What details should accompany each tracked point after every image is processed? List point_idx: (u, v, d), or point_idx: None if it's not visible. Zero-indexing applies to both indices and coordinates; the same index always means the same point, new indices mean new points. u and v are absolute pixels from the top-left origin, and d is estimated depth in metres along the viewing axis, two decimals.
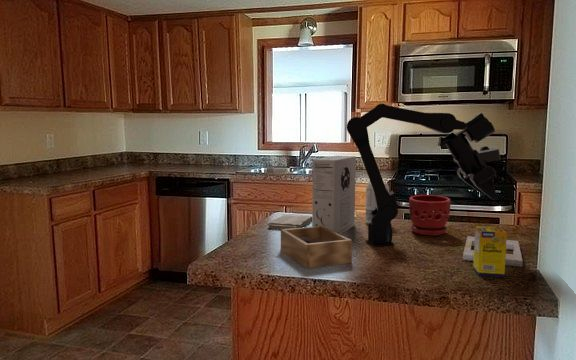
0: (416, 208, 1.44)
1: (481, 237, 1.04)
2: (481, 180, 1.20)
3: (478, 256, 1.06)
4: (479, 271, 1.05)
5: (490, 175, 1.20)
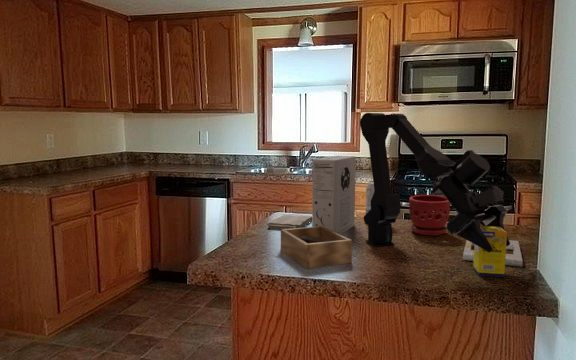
0: (416, 208, 1.44)
1: None
2: (453, 229, 1.04)
3: (478, 256, 1.06)
4: (479, 271, 1.05)
5: (461, 223, 1.02)
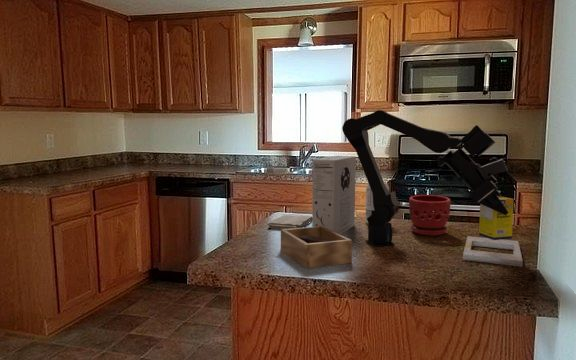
0: (416, 208, 1.44)
1: None
2: (480, 197, 1.13)
3: (492, 223, 1.18)
4: (494, 236, 1.17)
5: (488, 190, 1.12)
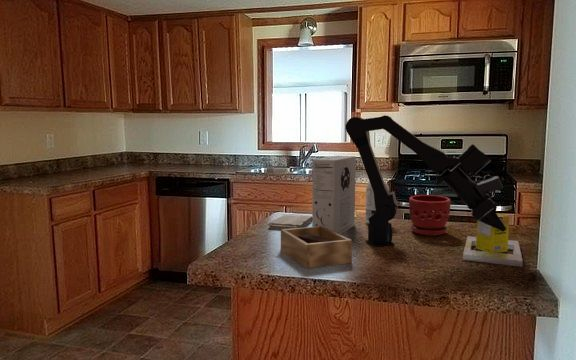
0: (416, 208, 1.44)
1: None
2: (481, 215, 1.17)
3: (490, 239, 1.22)
4: None
5: (489, 208, 1.16)
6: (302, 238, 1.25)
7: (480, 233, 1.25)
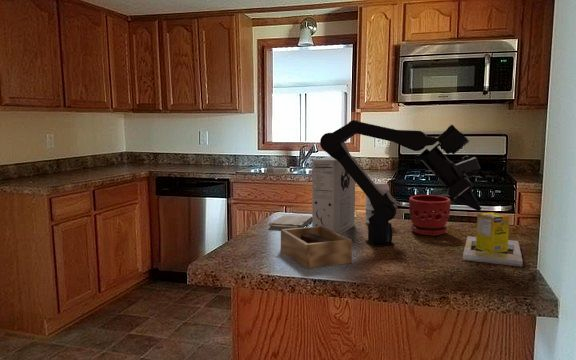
0: (416, 208, 1.44)
1: (494, 222, 1.21)
2: (456, 193, 1.18)
3: (490, 239, 1.22)
4: None
5: (464, 187, 1.17)
6: (304, 237, 1.26)
7: (480, 233, 1.25)
